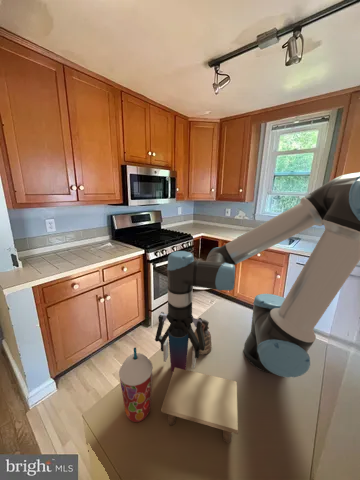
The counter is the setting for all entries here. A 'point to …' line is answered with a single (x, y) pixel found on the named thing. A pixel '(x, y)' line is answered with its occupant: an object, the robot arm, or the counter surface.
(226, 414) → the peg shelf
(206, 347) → the figurine
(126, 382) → the smoothie
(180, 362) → the cup
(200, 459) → the counter surface
